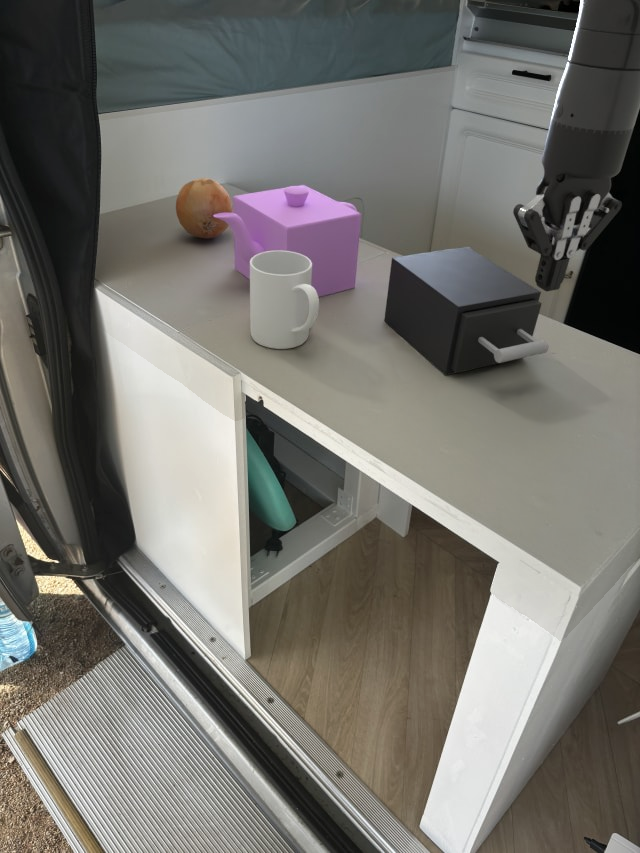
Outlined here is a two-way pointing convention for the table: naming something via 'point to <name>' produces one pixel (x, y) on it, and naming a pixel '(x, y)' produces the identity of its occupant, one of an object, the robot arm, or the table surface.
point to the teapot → (298, 233)
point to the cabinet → (445, 297)
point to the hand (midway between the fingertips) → (547, 287)
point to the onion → (203, 207)
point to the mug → (281, 299)
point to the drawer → (497, 335)
